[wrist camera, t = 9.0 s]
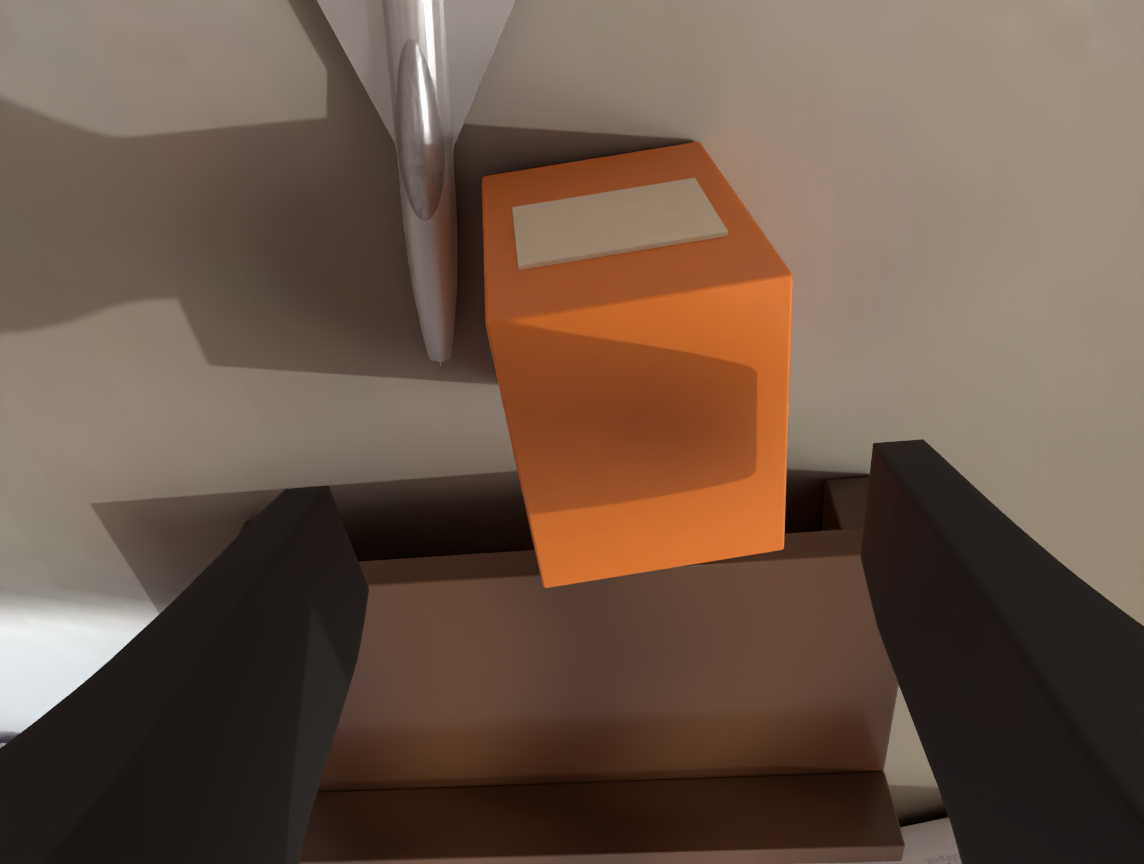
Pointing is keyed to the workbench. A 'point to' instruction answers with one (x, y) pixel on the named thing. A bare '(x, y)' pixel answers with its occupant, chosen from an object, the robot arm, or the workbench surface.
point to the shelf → (618, 713)
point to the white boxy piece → (926, 844)
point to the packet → (639, 362)
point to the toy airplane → (423, 122)
